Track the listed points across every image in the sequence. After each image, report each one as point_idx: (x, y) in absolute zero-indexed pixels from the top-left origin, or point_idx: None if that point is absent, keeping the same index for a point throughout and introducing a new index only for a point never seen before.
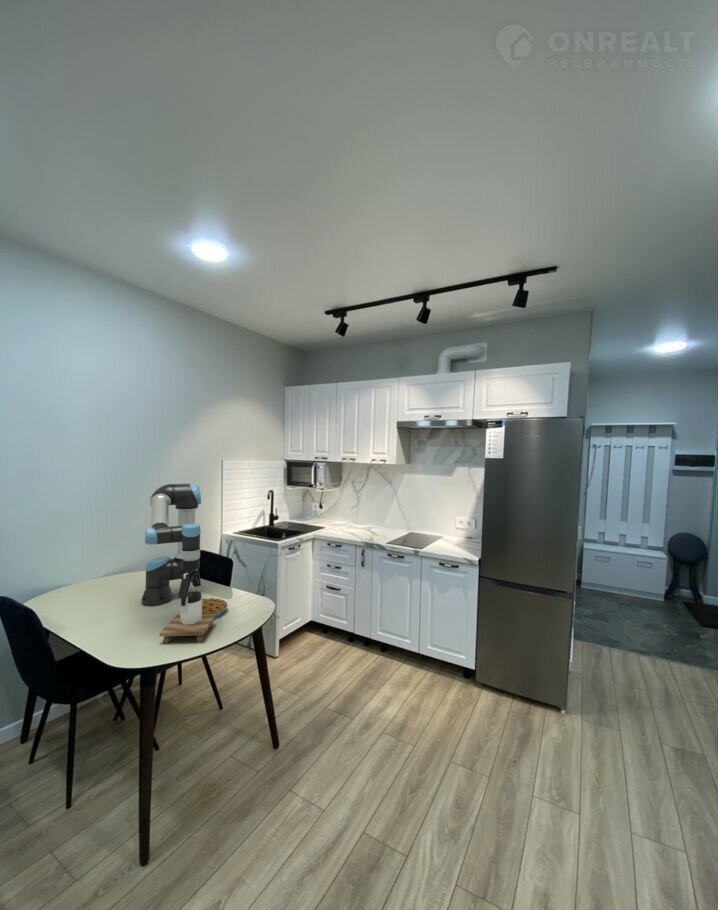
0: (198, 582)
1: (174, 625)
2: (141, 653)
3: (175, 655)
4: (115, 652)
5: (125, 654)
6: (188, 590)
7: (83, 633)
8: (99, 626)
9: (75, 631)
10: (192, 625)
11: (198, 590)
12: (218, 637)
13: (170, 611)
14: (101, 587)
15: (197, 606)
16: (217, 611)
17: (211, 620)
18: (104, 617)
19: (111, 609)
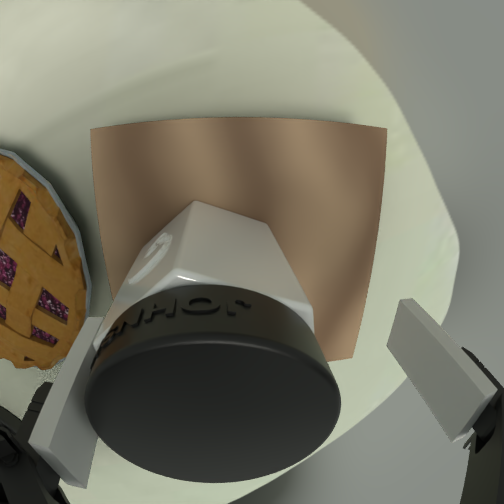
0: (19, 498)
1: None
2: (382, 345)
3: (430, 222)
4: (351, 408)
5: (373, 381)
6: (502, 462)
7: (224, 491)
8: (184, 486)
9: (214, 499)
10: (289, 231)
11: (57, 401)
12: (290, 61)
13: None
14: None
15: (263, 267)
16: (16, 168)
17: (207, 119)
18: (134, 489)
19: (92, 486)
